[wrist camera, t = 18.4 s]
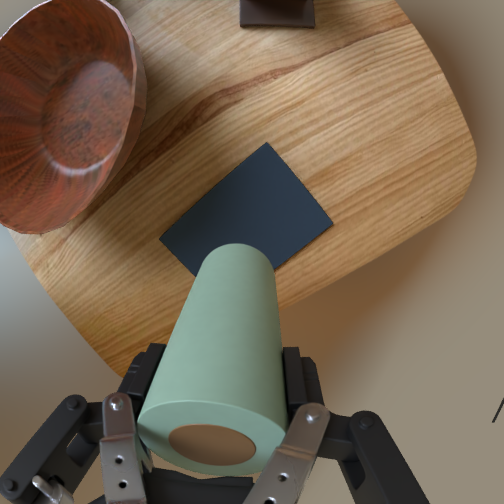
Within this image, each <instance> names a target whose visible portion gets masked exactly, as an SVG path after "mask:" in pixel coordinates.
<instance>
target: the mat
mask: <svg viewBox="0 0 504 504" xmlns="http://www.w3.org/2000/svg"><path fill="white" fill-rule="evenodd" d="M332 224H333V222H332V221H331V220H330V218H329V217H328V216H327V214H326V213H325V212H324V211H323V209H322V208H321V207H320V205H319V204H318V203H317V202H316V200H315V199H314V198H313V197H312V195H311V194H310V193H309V192H308V190H307V189H306V188H305V187H304V185H303V184H302V183H301V182H300V180H299V179H298V178H297V177H296V176H295V174H294V173H293V172H292V171H291V170H290V168H289V167H288V166H287V165H286V164H285V162H284V161H283V160H282V159H281V158H280V157H279V155H278V154H277V153H276V152H275V151H274V150H273V148H272V147H271V146H270V145H269V144H268V143H267V142H266V143H265V144H264V145H262V146H261V147H260V148H259V149H258V150H256V151H255V152H254V153H253V154H252V155H250V156H249V157H248V158H247V159H246V160H244V161H243V162H242V163H241V164H240V165H239V166H237V167H236V168H235V169H234V170H233V171H232V172H231V173H229V174H228V175H227V176H226V177H225V178H224V179H223V180H221V181H220V182H219V183H218V184H217V185H216V186H215V187H214V188H212V189H211V190H210V191H209V192H208V193H207V194H206V195H205V196H204V197H203V198H201V199H200V200H199V201H198V202H197V203H196V204H195V205H194V206H193V207H192V208H191V209H190V210H188V211H187V212H186V213H185V214H184V215H183V216H182V217H181V218H180V219H179V220H178V221H177V222H176V223H175V224H174V225H173V226H172V227H171V228H170V229H168V230H167V231H166V232H165V233H164V234H163V235H162V236H161V237H160V238H159V240H160V241H161V242H162V243H163V244H164V245H165V246H166V247H167V248H168V249H169V250H170V251H171V252H172V253H173V254H174V255H175V256H176V257H177V258H178V259H179V260H180V261H181V263H182V264H183V265H184V266H185V267H186V268H187V269H188V270H189V271H190V272H191V273H192V274H193V275H194V276H195V277H197V274H198V272H199V270H200V268H201V265H202V263H203V261H204V260H205V258H206V257H207V256H208V255H209V254H210V253H211V252H212V251H213V250H215V249H216V248H218V247H221V246H223V245H227V244H245V245H248V246H251V247H254V248H256V249H257V250H259V251H260V252H262V253H263V254H264V255H265V256H266V257H267V258H268V260H269V261H270V263H271V265H272V267H273V270H274V269H275V268H277V267H278V266H279V265H281V264H282V263H283V262H285V261H286V260H287V259H288V258H290V257H291V256H292V255H294V254H295V253H296V252H297V251H299V250H300V249H301V248H303V247H304V246H305V245H306V244H308V243H309V242H310V241H312V240H313V239H314V238H315V237H317V236H318V235H319V234H320V233H322V232H323V231H324V230H326V229H327V228H328V227H329V226H331V225H332Z"/></svg>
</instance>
